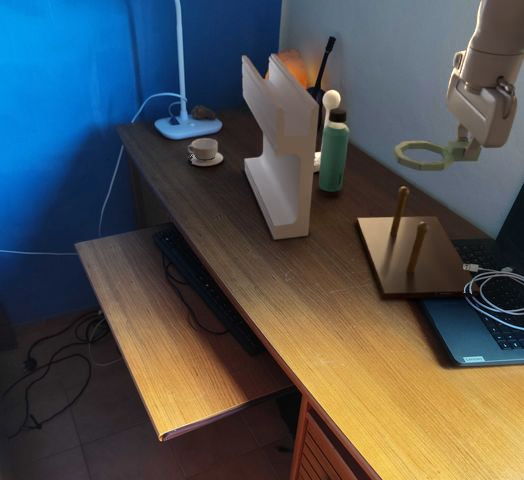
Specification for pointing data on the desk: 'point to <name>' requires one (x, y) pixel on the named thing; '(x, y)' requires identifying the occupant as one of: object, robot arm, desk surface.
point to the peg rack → (413, 256)
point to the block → (282, 147)
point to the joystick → (327, 118)
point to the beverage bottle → (334, 151)
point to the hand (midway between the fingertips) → (463, 152)
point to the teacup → (205, 152)
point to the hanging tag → (448, 152)
